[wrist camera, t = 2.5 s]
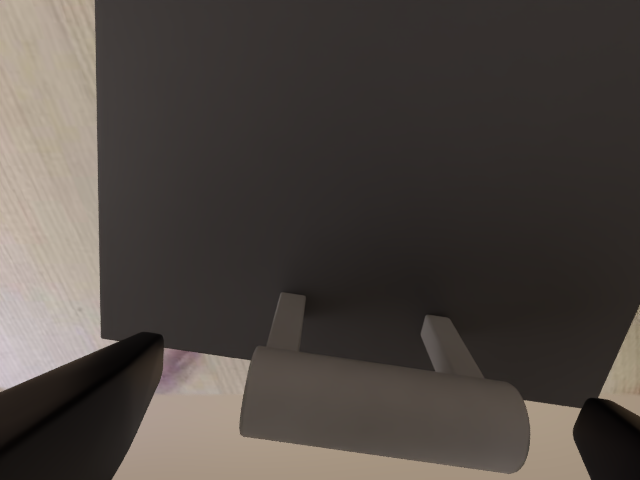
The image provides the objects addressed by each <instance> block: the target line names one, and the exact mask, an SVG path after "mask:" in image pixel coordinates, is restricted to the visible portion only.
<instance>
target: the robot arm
mask: <svg viewBox="0 0 640 480" xmlns="http://www.w3.org/2000/svg"><path fill="white" fill-rule="evenodd" d="M163 353H164V338H163V336H162V335H161V334H158V333H151V332H140V333H138V334H135V335H133V336H131V337H128V338H126V339H124V340H121V341H119V342H117V343H114V344H112V345H110V346H107V347H105V348H103V349H100V350H98V351H96V352H93V353H91V354H89V355H86V356H84V357H82V358H79V359H77V360H75V361H72V362H70V363H68V364H65V365H63V366H61V367H58V368H56V369H54V370H51V371H49V372H47V373H44V374H42V375H40V376H37V377H35V378H33V379H30V380H28V381H26V382H23V383H21V384H19V385H16V386H14V387H11V388H9V389H7V390H4V391H2V392H0V480H112V478H113V476H114V475H115V473H116V471H117V469H118V468H119V466H120V464H121V463H122V461H123V459H124V457H125V455H126V454H127V452H128V450H129V448H130V446H131V444H132V442H133V439H134V437H135V435H136V433H137V431H138V428H139V426H140V424H141V421H142V419H143V417H144V415H145V413H146V410H147V408H148V406H149V404H150V401H151V399H152V397H153V395H154V392H155V390H156V388H157V386H158V383H159V381H160V379H161V375H162V371H163ZM573 437H574V441H575V443H576V446H577V448H578V450H579V453H580V455H581V457H582V460H583V462H584V464H585V466H586V469H587V471H588V473H589V475H590V478H591V480H640V417H639V416H638V415H636V414H634V413H632V412H631V411H629V410H627V409H625V408H624V407H622V406H620V405H618V404H616V403H615V402H613V401H610V400H606V399H599V398H588V399H587V400H586V401H585V402H584V404H583V407H582V409H581V411H580V414H579V416H578V418H577V420H576V423H575V425H574V428H573Z"/></svg>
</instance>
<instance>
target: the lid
mask: <svg viewBox="0 0 640 480" xmlns="http://www.w3.org/2000/svg"><path fill="white" fill-rule="evenodd" d="M95 32H96V88H97V144H98V200H99V256H100V312H101V338H102V339H109V340H115V341H121V340H124V339H126V338H128V337H131V336H133V335H135V334H138V333H140V332H151V333H158V334H161V335H162V336H163V338H164V348H170V349H177V350H184V351H191V352H198V353H205V354H212V355H218V356H225V357H232V358H239V359H246V360H251V363H250V367H249V371H248V375H247V380H246V385H245V390H244V395H243V402H242V408H241V415H240V427H239V428H240V434H241V435H242V436H243V437H251V438H258V439H265V440H272V441H279V442H286V443H294V444H301V445H308V446H316V447H322V448H329V449H337V450H343V451H350V452H357V453H365V454H372V455H379V456H386V457H393V458H401V459H407V460H414V461H422V462H429V463H436V464H443V465H450V466H457V467H464V468H472V469H479V470H486V471H493V472H500V473H507V474H511V473H514V472H517V471H518V470H519V469H521V467H522V466H523V465H524V462H525V461H526V458H527V455H528V451H529V445H530V424H529V417H528V413H527V409H526V406H525V403H524V401H523V400H528V401H534V402H541V403H548V404H555V405H562V406H569V407H576V408H582V407H583V404H584V402H585V401H586V400H587V399H588V398H598V396H599V394H600V392H601V390H602V388H603V385H604V383H605V381H606V379H607V377H608V374H609V372H610V370H611V368H612V365H613V363H614V361H615V359H616V356H617V354H618V352H619V350H620V348H621V345H622V343H623V341H624V339H625V336H626V334H627V332H628V330H629V328H630V325H631V323H632V321H633V319H634V316H635V314H636V312H637V310H638V307H639V305H640V0H95Z"/></svg>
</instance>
